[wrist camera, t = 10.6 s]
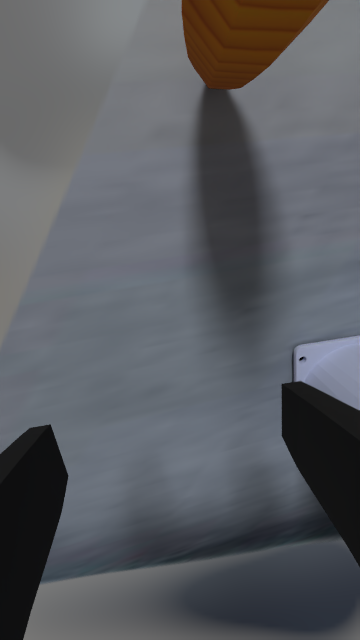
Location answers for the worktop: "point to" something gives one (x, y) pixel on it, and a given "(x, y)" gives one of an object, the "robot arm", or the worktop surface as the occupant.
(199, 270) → the worktop surface
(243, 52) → the carrot
